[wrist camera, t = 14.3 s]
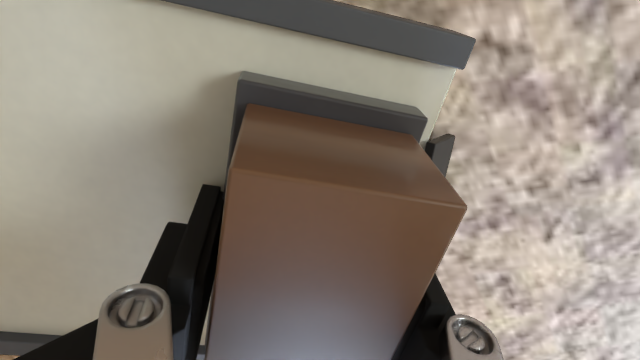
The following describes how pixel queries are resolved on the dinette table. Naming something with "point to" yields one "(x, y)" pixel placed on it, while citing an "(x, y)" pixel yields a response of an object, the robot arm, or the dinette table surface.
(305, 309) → the eraser
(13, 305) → the whiteboard
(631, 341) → the dinette table surface
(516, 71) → the dinette table surface
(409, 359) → the robot arm
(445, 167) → the strip
